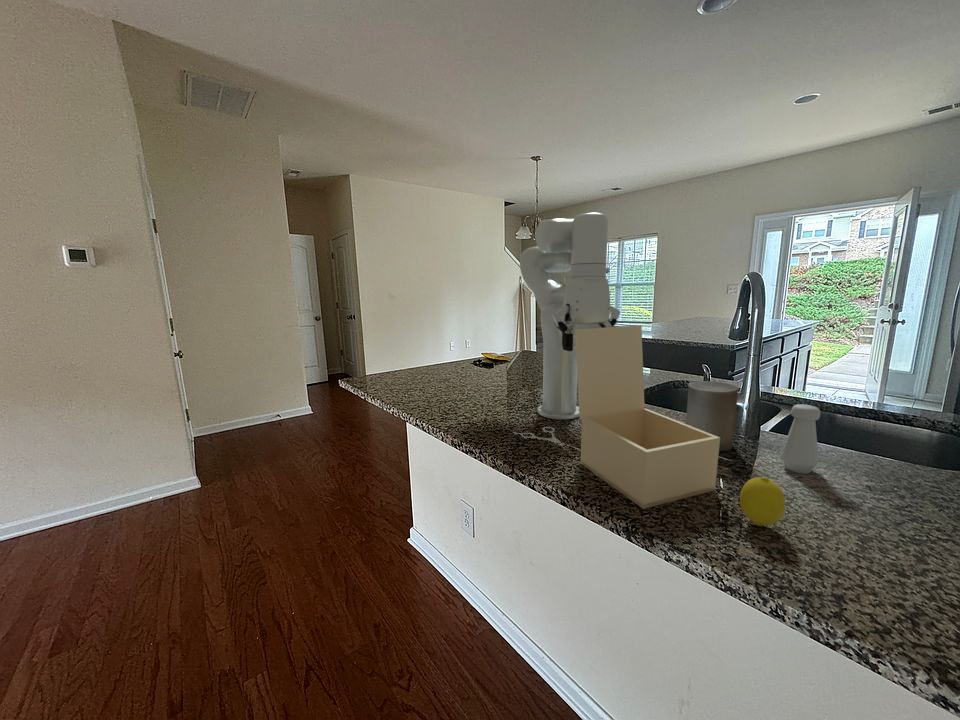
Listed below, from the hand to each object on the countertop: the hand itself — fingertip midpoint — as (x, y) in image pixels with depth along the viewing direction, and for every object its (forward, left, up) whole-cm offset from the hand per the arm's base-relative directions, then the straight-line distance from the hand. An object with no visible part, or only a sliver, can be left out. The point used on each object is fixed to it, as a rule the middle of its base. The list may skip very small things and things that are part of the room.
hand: (585, 348), depth 90 cm
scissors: (-1, -7, -23) cm, 24 cm away
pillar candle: (+13, +25, -22) cm, 36 cm away
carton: (+20, 0, -22) cm, 30 cm away
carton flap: (+10, 0, -3) cm, 10 cm away
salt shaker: (+29, +30, -22) cm, 47 cm away
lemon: (+39, +5, -22) cm, 45 cm away
